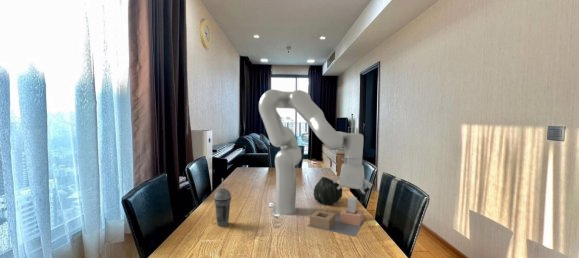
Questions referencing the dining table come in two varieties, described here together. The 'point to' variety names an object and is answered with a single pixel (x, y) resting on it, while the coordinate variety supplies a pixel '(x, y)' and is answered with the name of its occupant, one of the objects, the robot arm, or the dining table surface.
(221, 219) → the beverage cup
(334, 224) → the dock plate
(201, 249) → the dining table surface
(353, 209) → the peg
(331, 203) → the squash
